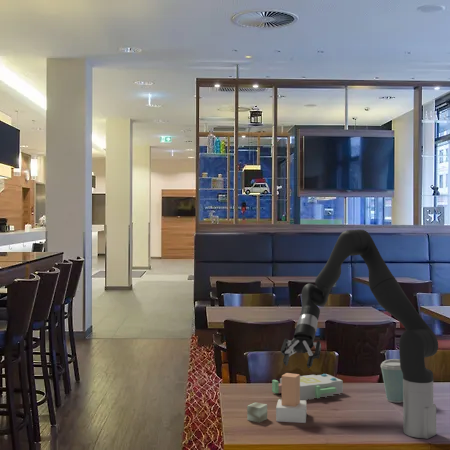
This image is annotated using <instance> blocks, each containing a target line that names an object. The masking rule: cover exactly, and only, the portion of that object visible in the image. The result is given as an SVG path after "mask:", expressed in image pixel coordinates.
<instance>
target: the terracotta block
mask: <svg viewBox="0 0 450 450" xmlns="http://www.w3.org/2000/svg"><path fill="white" fill-rule="evenodd" d="M300 376H301V374H299V373H290V372H286V373H284V374H282V375H281V378H282V393H281V399H282V405H287V406H294V407H296V406H297V405H298V404H299V403H300Z"/></svg>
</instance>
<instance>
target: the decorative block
mask: <svg viewBox="0 0 450 450" xmlns="http://www.w3.org/2000/svg"><path fill="white" fill-rule="evenodd" d="M271 382H272V383H271V392H272V393H274V394H282V377H281V378H279V381H278V380H276V379H272V380H271ZM343 385H344V383H343V380H342V379H340V378H337V377H335V376H333V375H331V374H327V373H323V374H317V375H316V374H309V375H300V400H305V401H307V400H308V399H309V400H315V399H314V398H317V399H321V398H320V397H325V398H328V397H327V396H332V397H333V396H334V395H333V394H339V393H343V392H344V391H343V387H344V386H343ZM339 395H340V394H339Z"/></svg>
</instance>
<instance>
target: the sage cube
mask: <svg viewBox="0 0 450 450" xmlns="http://www.w3.org/2000/svg"><path fill="white" fill-rule="evenodd" d="M246 408H247V409H246V410H247V412H246V414H247V416H246V418H247V421H249V422H255V423H263V422H264V421H266V420H268V404H267V403H261V402H256V401H255V402H253V403H251V404H248V405H247V407H246Z"/></svg>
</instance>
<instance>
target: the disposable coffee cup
mask: <svg viewBox="0 0 450 450" xmlns="http://www.w3.org/2000/svg"><path fill="white" fill-rule="evenodd" d="M380 369H381V374H382V380H383V386H384V390H385V391H384V392H385V396H386V399H387V401H388V402H390V403H393V404H394V403H396V404H397V403H399V404H400V403H403V373H402V371H401V367H400V358H392V359H390V358H389V359H385V360H384V361H382V362H381V363H380Z"/></svg>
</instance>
